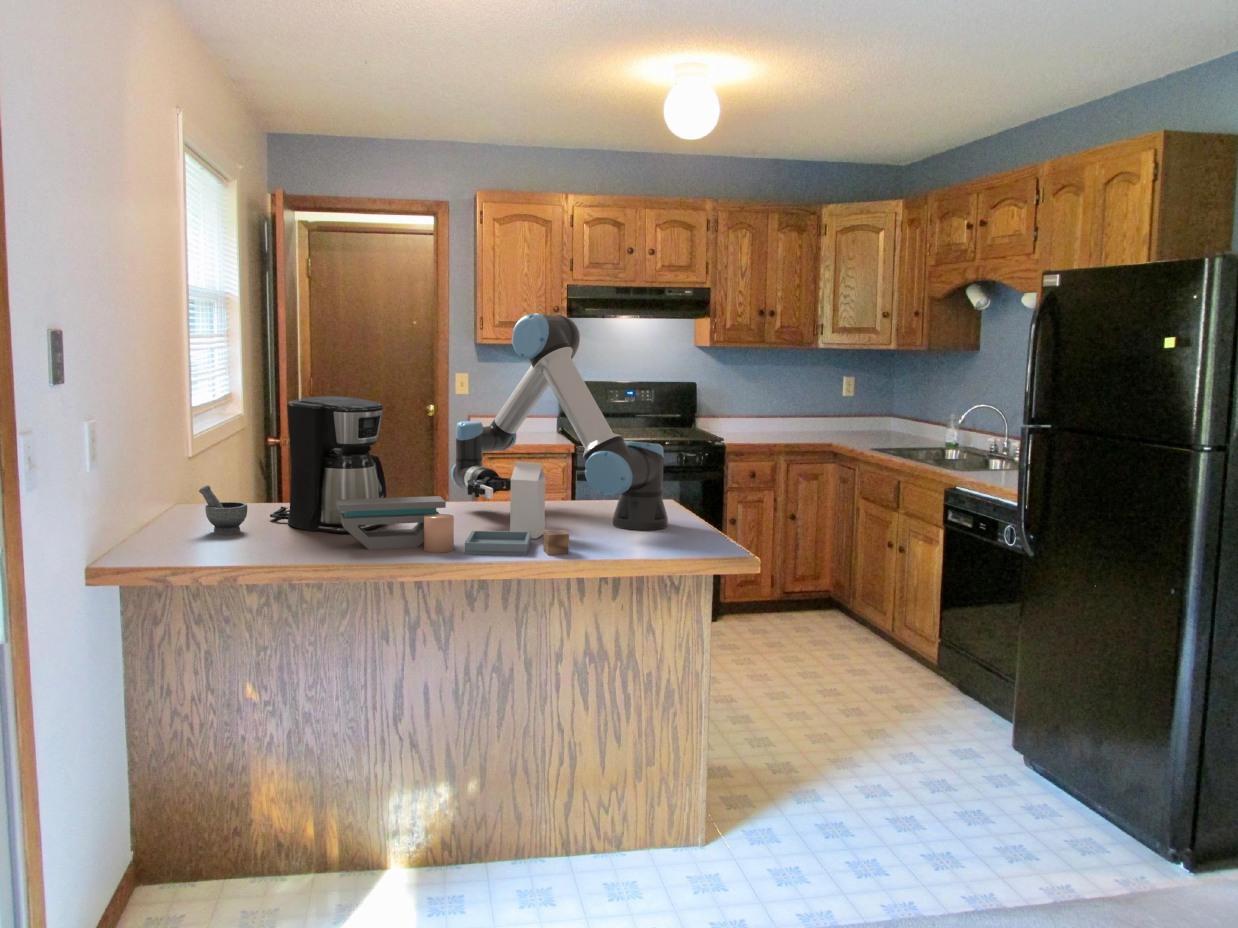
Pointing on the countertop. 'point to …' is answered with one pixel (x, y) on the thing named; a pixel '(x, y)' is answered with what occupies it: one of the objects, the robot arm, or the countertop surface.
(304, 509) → the coffee maker
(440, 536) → the peach round cylinder
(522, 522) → the milk carton
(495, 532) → the tray
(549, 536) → the walnut block
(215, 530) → the mortar and pestle
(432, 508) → the sharpening stone
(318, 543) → the countertop surface
